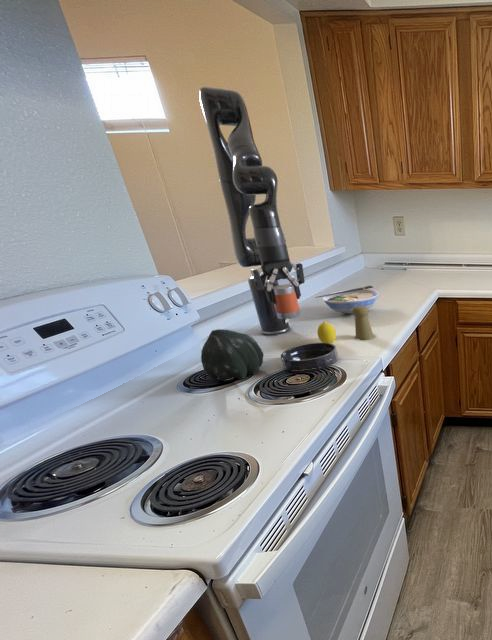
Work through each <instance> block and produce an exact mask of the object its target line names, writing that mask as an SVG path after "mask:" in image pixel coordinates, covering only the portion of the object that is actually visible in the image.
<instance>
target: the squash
mask: <svg viewBox="0 0 492 640" xmlns="http://www.w3.org/2000/svg"><path fill="white" fill-rule="evenodd" d="M200 361H201V365H202V368H203V371H204V373H206V375H207V376H208V377H209V378H210V379H211V380H214V379H217V378H219V380H218V381H222V380H226V379H230V378H232V377H234V378H233V379H230V380H226V381H225V382H232V381H233V380H235V379H236V380H238V379H237V378H241V379H240V380H244V379H246V378H247V376H248V377H249V376H250V377H251V376H254V375H256V374H257V373H258V371H259V368H260V367H262V365H263V364H264V352H263V350H262V348H261V346H260V345H259V344H258V342H257V341H256V340H255V338H253V337H252V336H251V335H249V334H247V333H242V332H238V331H233V330H229V329H223V328H222V329H221V328H220V329H219V328H217V329H213V330H211V331H210V333H209V335H208V337H207V339H206V341H205V342H204V344H203V346H202V349H201V354H200Z"/></svg>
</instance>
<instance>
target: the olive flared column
mask: <svg viewBox="0 0 492 640" xmlns="http://www.w3.org/2000/svg"><path fill="white" fill-rule="evenodd" d="M352 313H353V314H352V315H353V317H354V328H355V330H354V332H355V339H358V340H360V341H367V340H370V339H373V338H374V337H375V336H374V332H373V330H372V326H371V323H370V319H369V316H368V315H369V308H367V307H366V306H356V307H354V308H353V310H352Z"/></svg>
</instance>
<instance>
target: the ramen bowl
mask: <svg viewBox="0 0 492 640" xmlns="http://www.w3.org/2000/svg"><path fill="white" fill-rule="evenodd" d="M373 288H374V286H373V285H366V286H362V287H356V288H353V289H352V288H351V289H346V290H340V291H334V292H331V293H329V294H324V295H320V296H315V299H317V298H321V299H322V300H323V301H324V303H325V304H326V306H328V307H329V308H330V309H331V310H332V311H334V312H338V313H343V314H345V315H353V313H352V310H353V308H354V307H356V306H366V307H367V308H368V309H370V308H372V307H373V306H374V305H375V303H376V302H377V300H378V297H379V295H380V291H378V290H376V289H373Z"/></svg>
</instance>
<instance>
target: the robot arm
mask: <svg viewBox="0 0 492 640" xmlns="http://www.w3.org/2000/svg"><path fill="white" fill-rule="evenodd" d="M199 102H200V106H201V109H202V113H203V117H204V122H205V124H206V127H207V131H208V134H209V139H210V141H211V145H212V149H213V153H214V159H215V164H216V168H217V173H218V179H219V183H220V188H221V192H222V196H223V199H224V205H225V209H226V211H227V215H228V220H229V227H230V233H231V241H232V246H233V247H232V248H233V252H234V256H235V259H236V261H237V263H238V264H239V265H240V266H241V267H242V268H251V269H250V273H251V276H250V277H249V278H248V279H247V281H248V282H247V283H248V286H249V290H250V293H251V296H252V300H253V304H254V308H255V311H256V314H257V318H258V323H259V326H260V329H261V334H263V335H267V336H271V335H272V336H273V335H279V334H285V333H286V332H288V331H290V330H291V326H290V324H289V321H290V318H289V319H279V318H278V317H277V313H276V310H275V306H274V304H275V299H274V295H273V291H271V289H272V287H273V286H278V285H280V284H279V281H280V280H287V281H288V282H289V284H290V285H294V289H295V292H296V297H297V300H299V299H300V297H301V296H302V293H301V290H300V289H301V288H300V286H301V285H302V284H305V274H304V267H303V264H302V263H301V262H295V263H292V261H291V259H290V255H289V251H288V246H287V241H286V240H287V239H286V238H285V234H284V231H283V229H282V225H281V221H280V216H279V212H278V186H279V185H278V177H277V174H276V172H275V171H274V169H273V168H272V167H270V166H268V165H263V160H262V157H261V154H260V152H259V149H258V148H257V145H256V142H255V138H254V134H253V130H252V124H251V120H250V117H249V113H248V108H247V105H246V103H245V100H244V98H243V96H242V95H241V94H240V93H239V92H238V91H237V90H232V89H227V88H219V87H212V86H201V87H200V89H199ZM220 126H225V127H226V126H227V127H234V128H233V129H232V131H231V132H230V134H229V136H228V138H227V140H226V138H225V137H224V135H223V132H222V130H221V127H220ZM257 195H259V196H260V195H265V199H264V201H262V202H259V203H256V200H257ZM249 218H250V221H251V225H252V229H253V236H254V237H250V238H249V237H248V238H247V235H246V234H247V233H246V231H247V223H248V219H249ZM259 266H260V267H259ZM252 267H259V268H252ZM292 270H294V271H295V273H296V274H295V275H296V277H294V275H293V274H292V273H291V272H292Z"/></svg>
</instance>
